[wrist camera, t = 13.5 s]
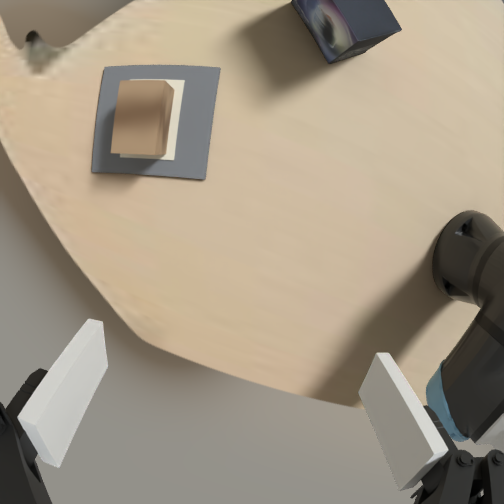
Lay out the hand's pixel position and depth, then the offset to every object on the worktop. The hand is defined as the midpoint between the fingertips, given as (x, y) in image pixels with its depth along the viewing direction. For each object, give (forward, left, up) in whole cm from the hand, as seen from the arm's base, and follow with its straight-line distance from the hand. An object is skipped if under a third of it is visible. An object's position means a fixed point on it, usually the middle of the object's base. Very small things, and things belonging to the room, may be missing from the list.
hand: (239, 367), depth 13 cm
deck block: (+12, -12, -26) cm, 31 cm away
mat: (+12, -12, -26) cm, 31 cm away
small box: (-8, -28, -27) cm, 40 cm away
